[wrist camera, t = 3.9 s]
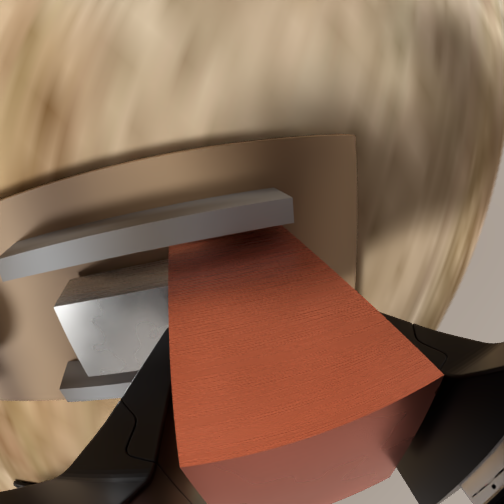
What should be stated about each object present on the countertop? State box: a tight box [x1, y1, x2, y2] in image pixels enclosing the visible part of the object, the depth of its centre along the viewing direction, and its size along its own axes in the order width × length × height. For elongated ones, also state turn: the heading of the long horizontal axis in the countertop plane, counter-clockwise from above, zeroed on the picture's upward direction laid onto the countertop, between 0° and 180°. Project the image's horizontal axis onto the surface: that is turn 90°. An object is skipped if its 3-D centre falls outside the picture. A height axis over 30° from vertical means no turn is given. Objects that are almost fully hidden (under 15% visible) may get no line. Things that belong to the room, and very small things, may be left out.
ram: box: [54, 225, 444, 504], centre depth 7 cm, size 8×4×8 cm, turn 96°
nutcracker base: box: [0, 134, 358, 402], centre depth 9 cm, size 24×10×5 cm, turn 96°
